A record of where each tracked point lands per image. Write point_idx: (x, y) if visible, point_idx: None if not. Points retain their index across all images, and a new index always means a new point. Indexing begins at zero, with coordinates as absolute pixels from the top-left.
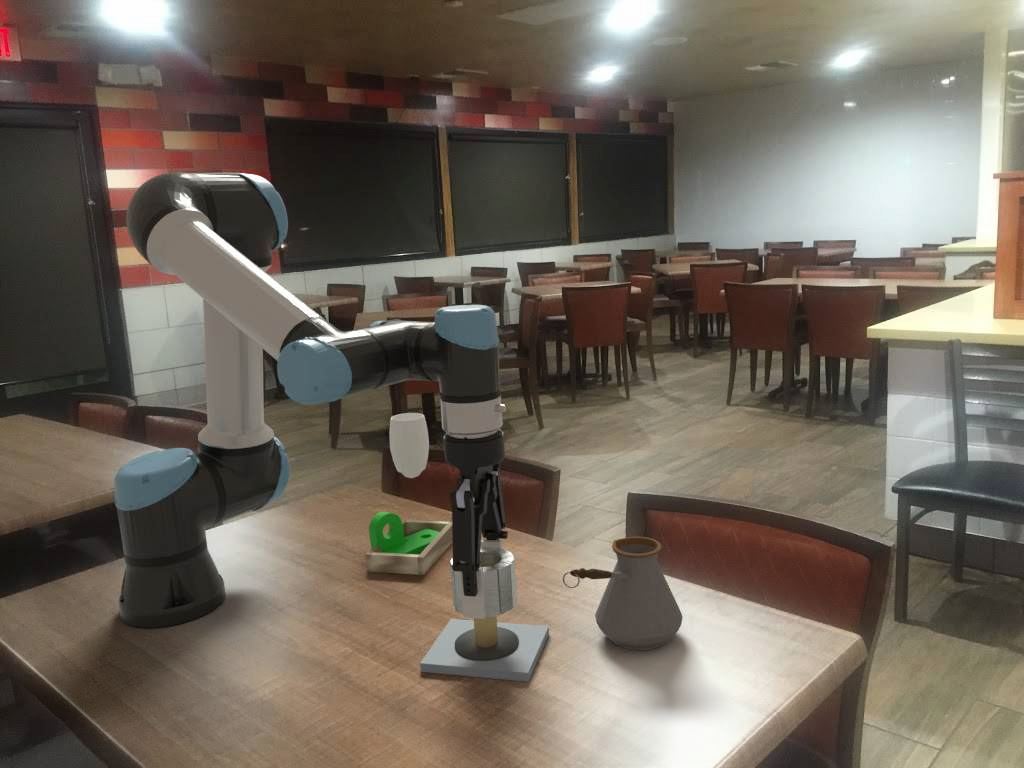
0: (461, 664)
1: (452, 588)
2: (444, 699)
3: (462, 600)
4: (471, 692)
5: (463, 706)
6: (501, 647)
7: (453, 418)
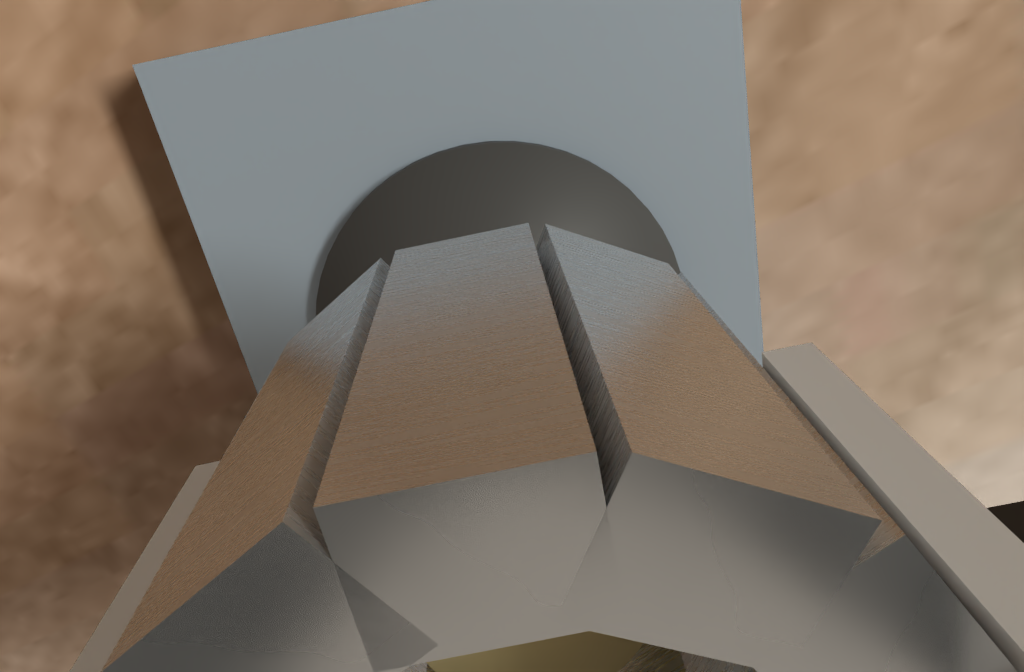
0: (248, 306)
1: (343, 334)
2: (22, 325)
3: (137, 566)
4: (146, 406)
5: (33, 427)
6: None
7: None
